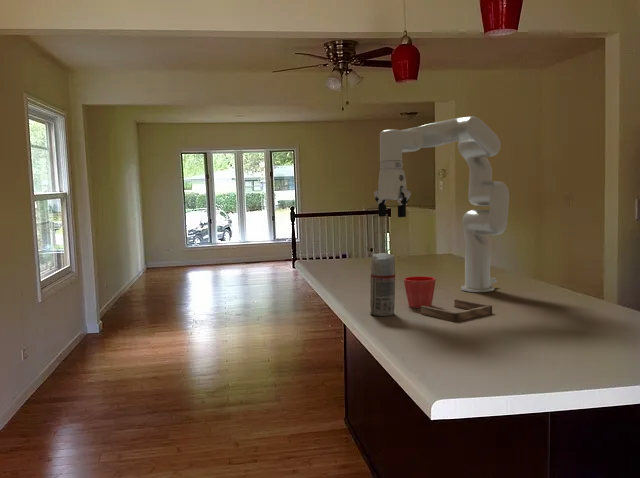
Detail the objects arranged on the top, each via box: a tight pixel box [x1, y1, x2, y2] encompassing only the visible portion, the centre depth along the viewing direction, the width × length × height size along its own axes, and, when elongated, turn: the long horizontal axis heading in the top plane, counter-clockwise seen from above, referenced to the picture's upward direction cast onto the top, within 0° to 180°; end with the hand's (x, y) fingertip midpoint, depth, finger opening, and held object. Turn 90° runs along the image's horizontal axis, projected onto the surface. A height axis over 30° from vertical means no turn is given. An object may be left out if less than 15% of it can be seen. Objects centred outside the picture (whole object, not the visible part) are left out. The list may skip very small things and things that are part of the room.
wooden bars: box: [420, 298, 493, 323], centre depth 187 cm, size 17×15×2 cm
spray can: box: [369, 252, 396, 317], centre depth 188 cm, size 8×8×20 cm
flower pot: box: [403, 275, 436, 309], centre depth 200 cm, size 11×11×10 cm
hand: (391, 216), depth 198 cm, fingers open, 9 cm apart
